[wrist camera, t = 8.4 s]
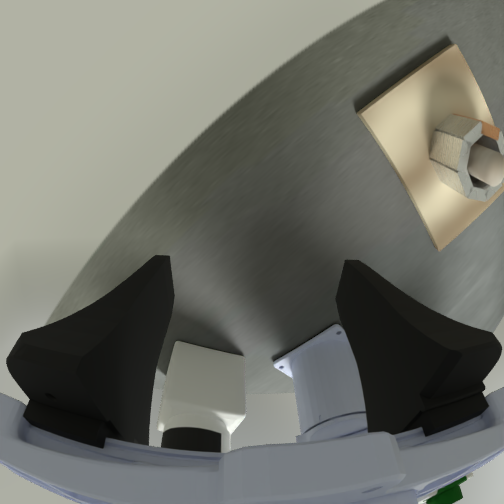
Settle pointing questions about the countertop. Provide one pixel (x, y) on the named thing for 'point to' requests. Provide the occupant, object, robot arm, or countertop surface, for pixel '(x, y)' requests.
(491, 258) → the countertop surface
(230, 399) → the medicine bottle
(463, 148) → the collar
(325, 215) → the countertop surface
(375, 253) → the countertop surface
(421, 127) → the duct board
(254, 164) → the countertop surface
